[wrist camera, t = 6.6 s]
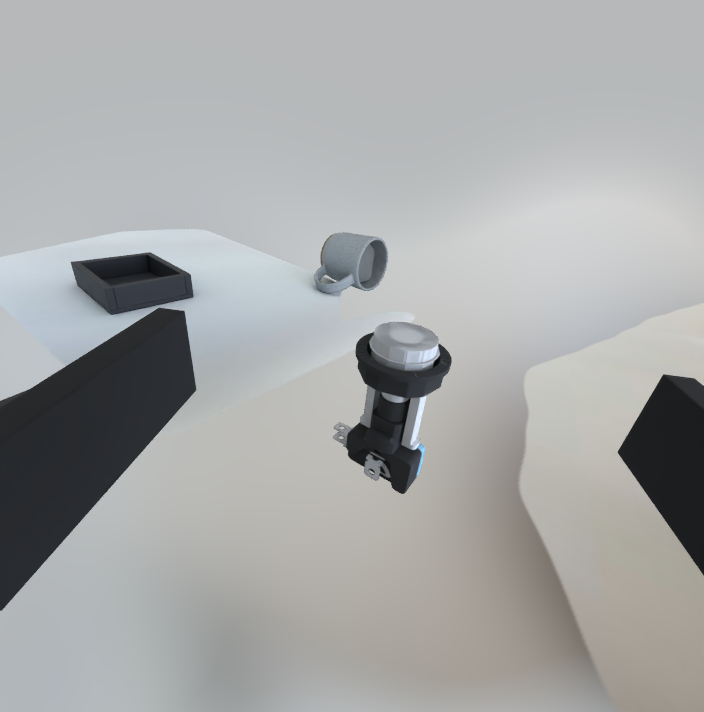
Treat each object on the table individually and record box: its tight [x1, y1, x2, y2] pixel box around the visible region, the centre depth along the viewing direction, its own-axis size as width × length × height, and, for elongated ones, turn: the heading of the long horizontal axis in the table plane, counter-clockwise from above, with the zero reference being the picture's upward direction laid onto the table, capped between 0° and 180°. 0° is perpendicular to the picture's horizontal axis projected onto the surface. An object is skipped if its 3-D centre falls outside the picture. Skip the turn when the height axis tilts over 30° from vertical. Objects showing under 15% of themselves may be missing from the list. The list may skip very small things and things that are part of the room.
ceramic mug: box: [314, 233, 388, 293], centre depth 55 cm, size 11×8×8 cm
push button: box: [333, 322, 451, 494], centre depth 23 cm, size 7×5×10 cm
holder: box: [71, 253, 193, 315], centre depth 47 cm, size 10×12×3 cm
